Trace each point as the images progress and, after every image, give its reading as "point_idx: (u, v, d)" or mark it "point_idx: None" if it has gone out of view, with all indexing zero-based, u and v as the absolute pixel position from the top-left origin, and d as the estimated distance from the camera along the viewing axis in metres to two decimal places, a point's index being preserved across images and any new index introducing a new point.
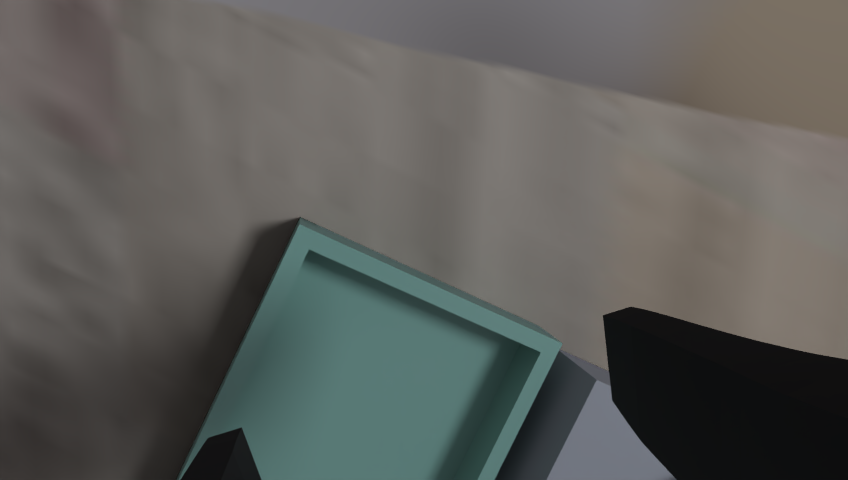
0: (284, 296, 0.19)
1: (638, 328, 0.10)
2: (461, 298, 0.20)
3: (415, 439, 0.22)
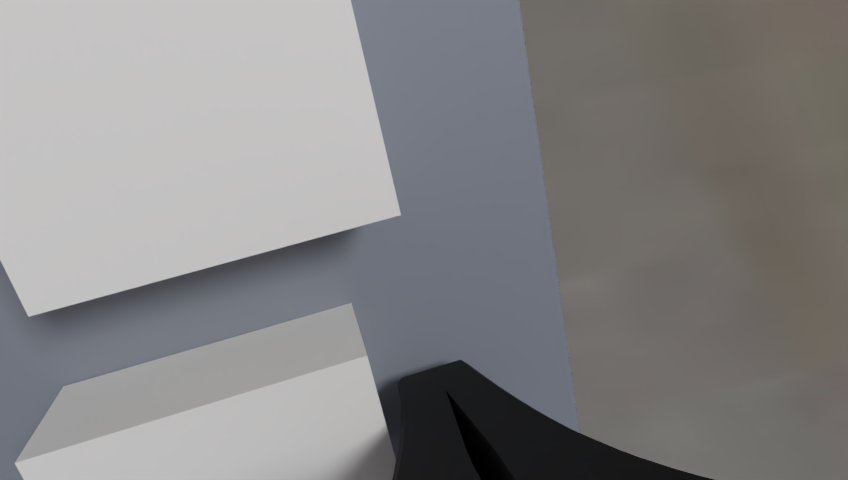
0: None
1: (445, 389, 0.10)
2: None
3: None
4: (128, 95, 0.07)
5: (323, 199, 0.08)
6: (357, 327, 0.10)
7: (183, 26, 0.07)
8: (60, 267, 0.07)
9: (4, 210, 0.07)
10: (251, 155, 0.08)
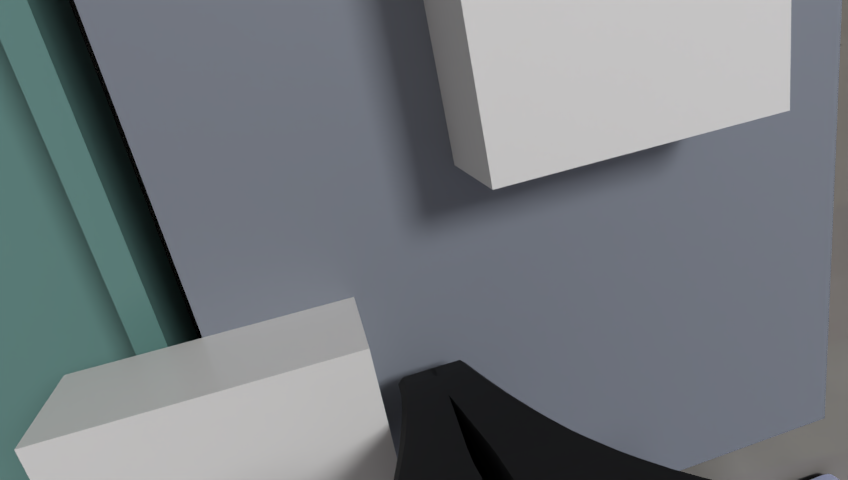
0: None
1: (445, 389, 0.10)
2: None
3: None
4: None
5: (735, 92, 0.09)
6: (360, 320, 0.10)
7: None
8: (526, 145, 0.08)
9: (499, 88, 0.08)
10: (689, 48, 0.09)
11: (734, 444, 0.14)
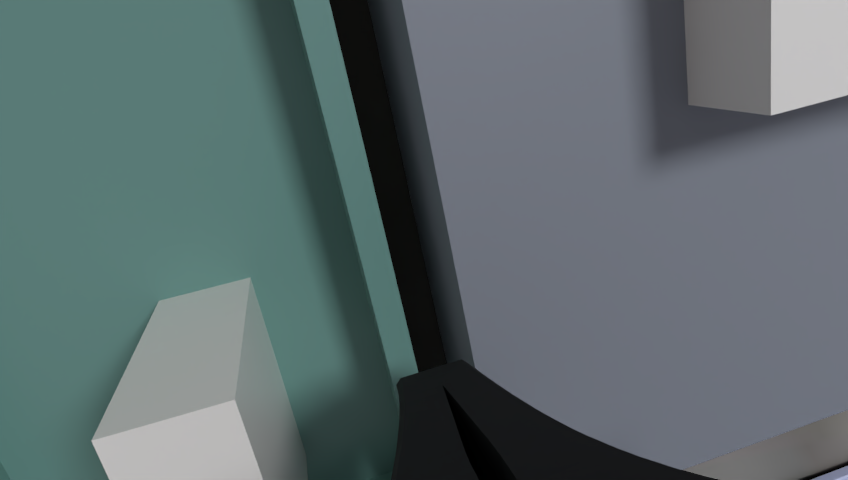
0: None
1: (446, 389, 0.10)
2: None
3: (216, 129, 0.12)
4: None
5: None
6: (163, 419, 0.08)
7: None
8: (804, 73, 0.09)
9: (791, 18, 0.09)
10: None
11: None
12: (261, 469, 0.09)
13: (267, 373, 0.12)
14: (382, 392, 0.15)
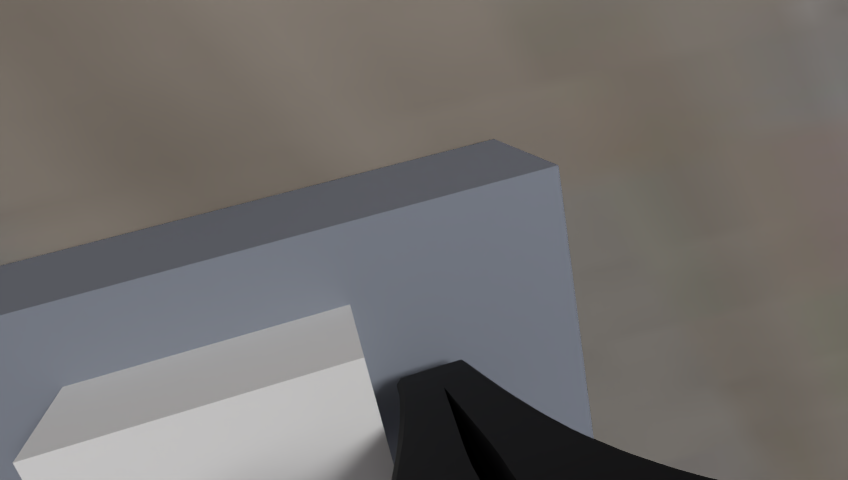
0: None
1: (446, 389, 0.10)
2: None
3: None
4: None
5: None
6: None
7: None
8: None
9: None
10: None
11: None
12: None
13: None
14: None
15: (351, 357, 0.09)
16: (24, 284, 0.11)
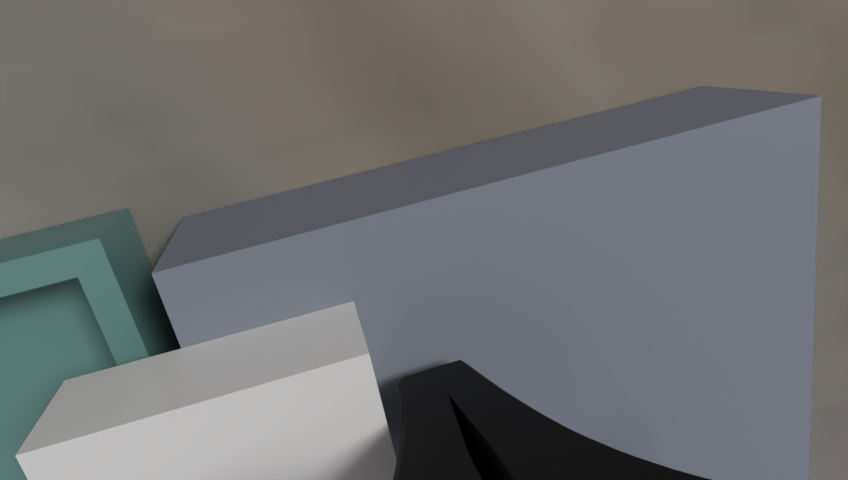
0: None
1: (445, 389, 0.10)
2: None
3: None
4: None
5: None
6: None
7: None
8: None
9: None
10: None
11: None
12: None
13: None
14: None
15: (356, 354, 0.09)
16: (328, 203, 0.12)
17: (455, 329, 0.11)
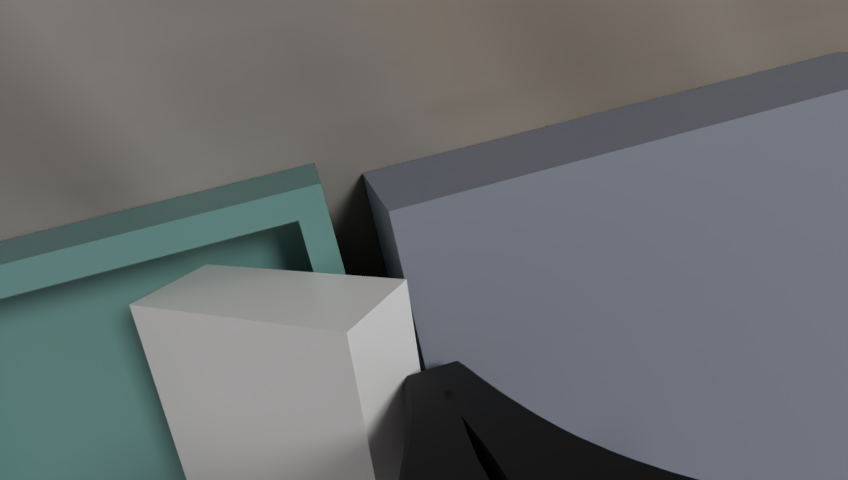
0: None
1: (441, 390, 0.10)
2: (98, 241, 0.11)
3: None
4: (244, 439, 0.11)
5: None
6: None
7: (272, 420, 0.11)
8: None
9: (188, 462, 0.12)
10: None
11: None
12: None
13: None
14: None
15: (339, 328, 0.09)
16: (520, 154, 0.12)
17: (643, 272, 0.12)
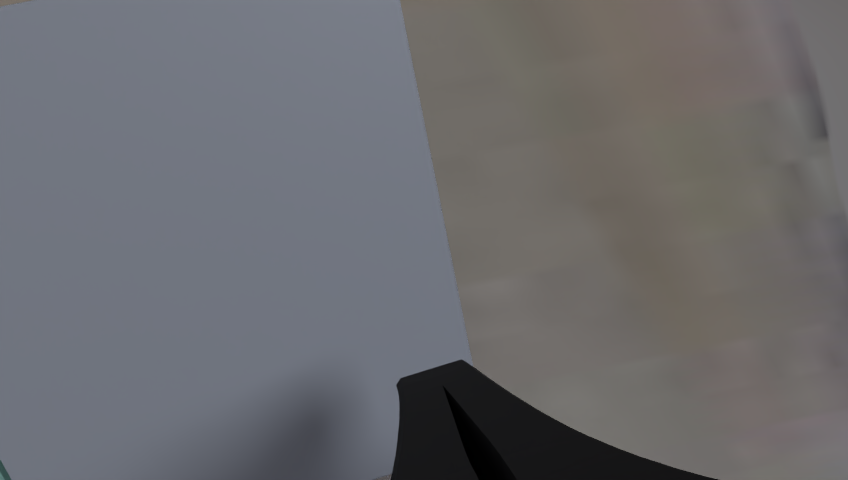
0: None
1: (446, 389, 0.10)
2: None
3: None
4: None
5: None
6: None
7: None
8: None
9: None
10: None
11: None
12: None
13: None
14: None
15: None
16: None
17: (69, 124, 0.14)
